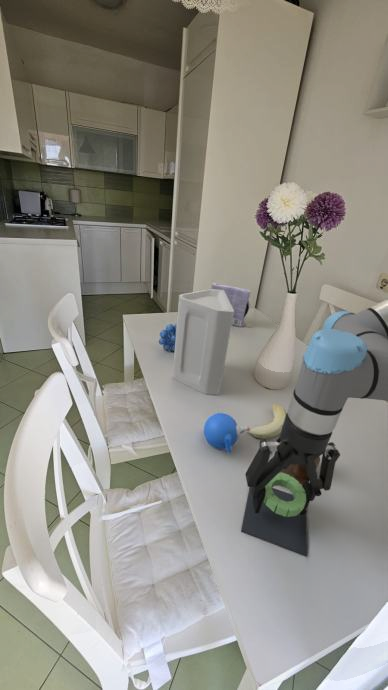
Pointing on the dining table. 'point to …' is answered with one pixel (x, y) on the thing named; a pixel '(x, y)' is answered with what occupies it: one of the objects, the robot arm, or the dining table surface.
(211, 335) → the white prism box
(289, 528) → the mat
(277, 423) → the fruit
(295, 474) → the stand
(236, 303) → the purple towel
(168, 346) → the grapes
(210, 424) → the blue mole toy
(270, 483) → the ring
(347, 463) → the dining table surface
